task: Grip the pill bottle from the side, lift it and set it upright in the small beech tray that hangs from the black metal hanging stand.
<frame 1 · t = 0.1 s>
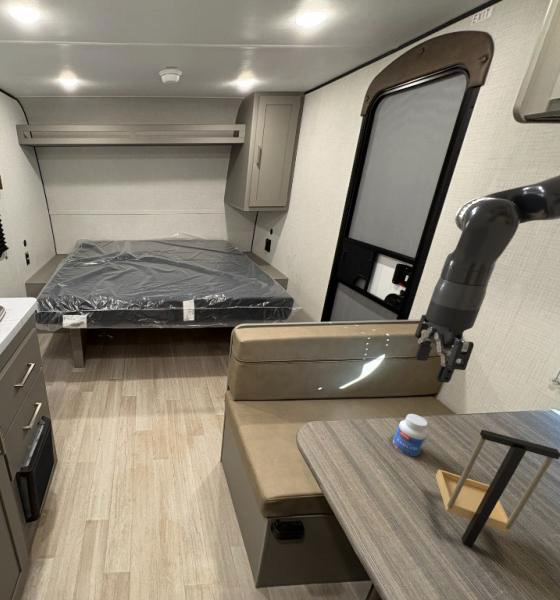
hand: (430, 369, 70), 24 cm above the table, tool pointing down, fingers open, 8 cm apart
hanging stand: (456, 523, 62), on the table
pill bottle: (404, 450, 79), on the table
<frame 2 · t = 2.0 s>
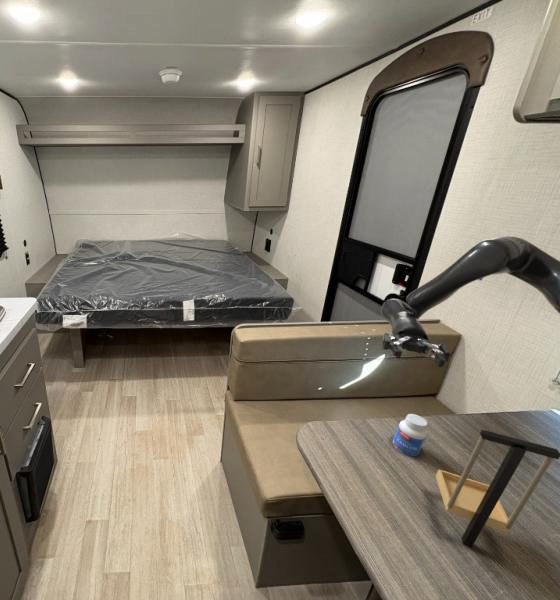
hand: (419, 359, 80), 20 cm above the table, tool horizontal, fingers open, 8 cm apart
nothing on the table moved.
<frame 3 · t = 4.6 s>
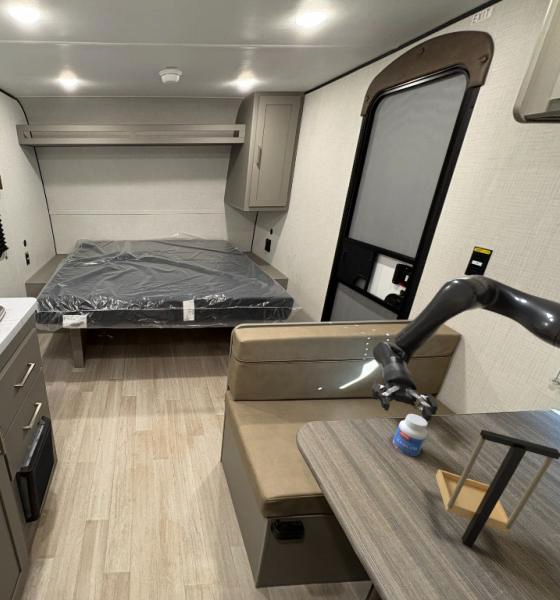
hand: (407, 413, 82), 6 cm above the table, tool horizontal, fingers open, 8 cm apart
nothing on the table moved.
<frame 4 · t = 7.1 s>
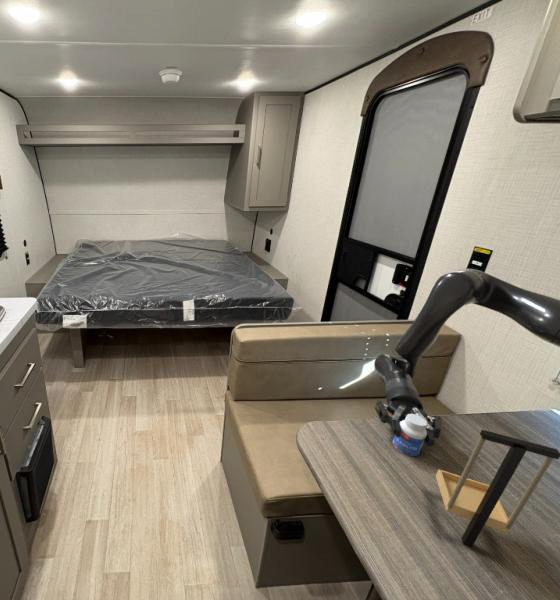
hand: (414, 438, 74), 6 cm above the table, tool horizontal, fingers closed on pill bottle, 5 cm apart
pill bottle: (404, 450, 79), on the table, touching gripper
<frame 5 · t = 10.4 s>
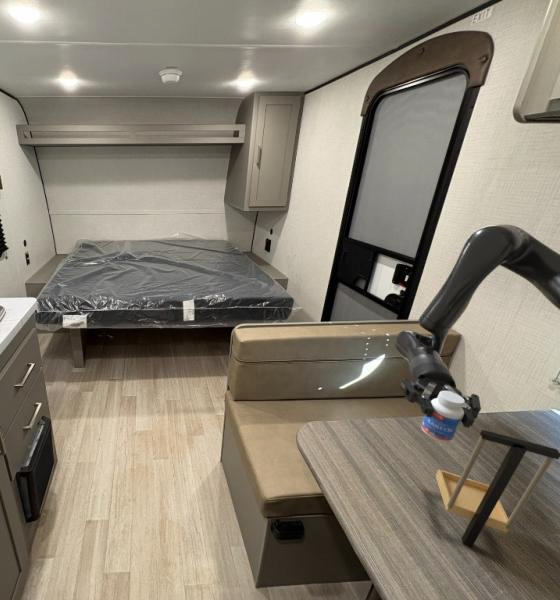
hand: (449, 418, 64), 18 cm above the table, tool horizontal, fingers closed on pill bottle, 5 cm apart
pill bottle: (436, 433, 69), point 11 cm above the table, touching gripper
when the fingers open (13 cm above the table, at t = 13.8 s): pill bottle stays where it is, resting on hanging stand.
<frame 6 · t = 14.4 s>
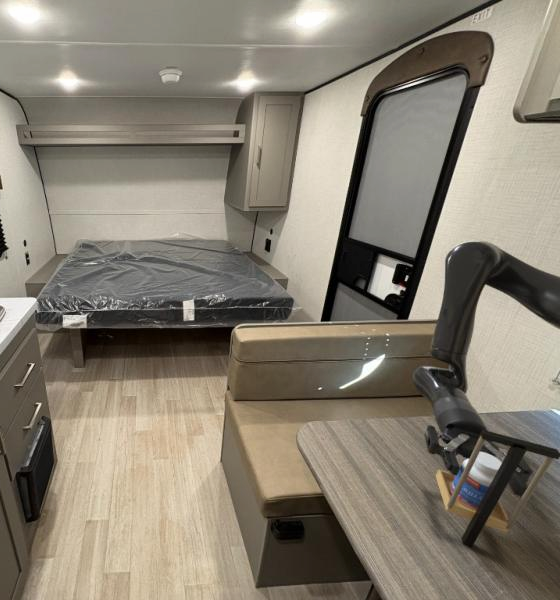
hand: (487, 481, 55), 14 cm above the table, tool horizontal, fingers open, 8 cm apart
pill bottle: (468, 499, 60), point 7 cm above the table, touching hanging stand
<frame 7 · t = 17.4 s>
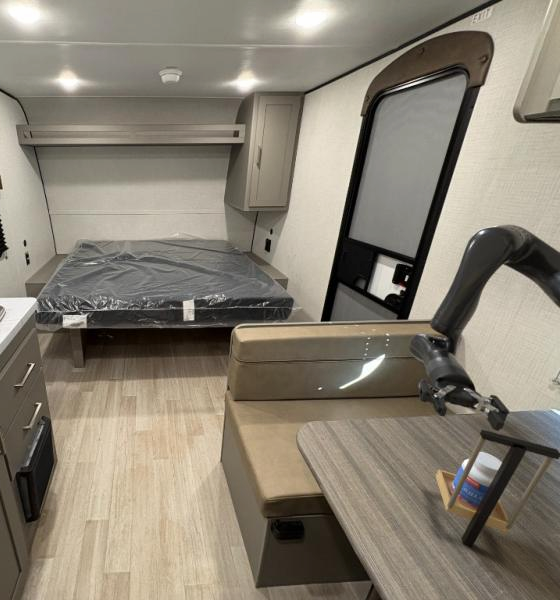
hand: (470, 419, 65), 17 cm above the table, tool horizontal, fingers open, 8 cm apart
nothing on the table moved.
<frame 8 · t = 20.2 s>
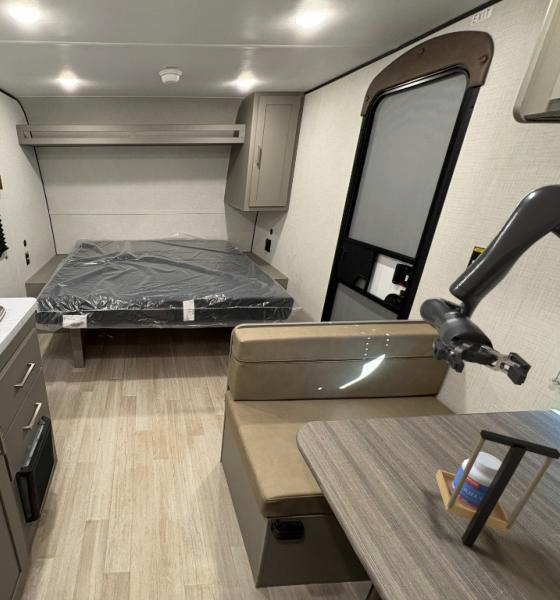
hand: (489, 374, 61), 28 cm above the table, tool horizontal, fingers open, 8 cm apart
nothing on the table moved.
at the end: pill bottle 0.2 cm off-centre on the hanging stand, point 6.8 cm above the hanging stand's base; pill bottle tilted 0°; the gripper is holding nothing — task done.
